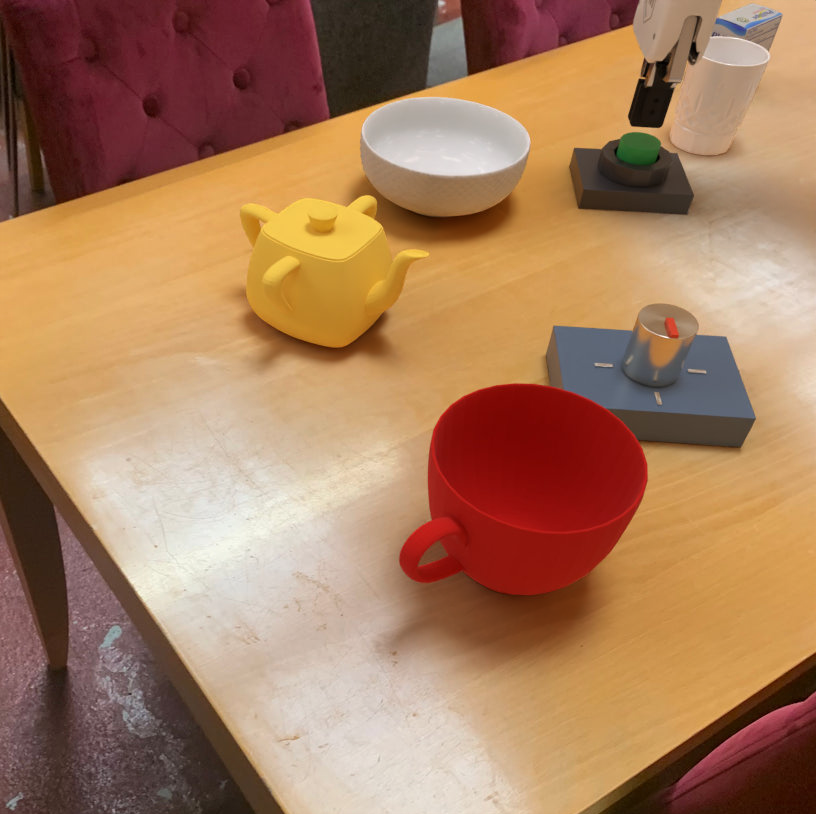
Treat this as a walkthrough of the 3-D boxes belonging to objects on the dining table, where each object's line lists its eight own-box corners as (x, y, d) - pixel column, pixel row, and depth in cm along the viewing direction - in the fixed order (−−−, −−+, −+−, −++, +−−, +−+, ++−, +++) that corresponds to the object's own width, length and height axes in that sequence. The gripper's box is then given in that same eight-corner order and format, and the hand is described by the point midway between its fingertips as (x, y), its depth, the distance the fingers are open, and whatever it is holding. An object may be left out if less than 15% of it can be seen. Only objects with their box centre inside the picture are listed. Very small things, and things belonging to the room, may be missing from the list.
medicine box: (725, 75, 114) (751, 1, 108) (756, 86, 112) (785, 12, 106) (689, 91, 111) (714, 16, 104) (721, 104, 109) (748, 27, 102)
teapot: (387, 270, 84) (396, 166, 76) (416, 355, 75) (431, 247, 68) (242, 280, 83) (237, 175, 75) (255, 368, 74) (251, 259, 66)
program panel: (713, 365, 75) (727, 334, 73) (741, 447, 68) (757, 417, 66) (545, 354, 76) (553, 323, 73) (557, 434, 69) (566, 403, 67)
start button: (652, 149, 93) (657, 132, 92) (659, 168, 90) (664, 151, 89) (613, 147, 93) (618, 130, 92) (619, 165, 91) (623, 149, 89)
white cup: (740, 161, 99) (777, 68, 91) (667, 155, 100) (698, 62, 92) (729, 129, 104) (763, 39, 97) (660, 124, 105) (688, 33, 97)
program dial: (617, 349, 71) (634, 298, 68) (672, 353, 71) (693, 301, 68) (626, 385, 68) (644, 333, 65) (684, 388, 68) (706, 337, 65)
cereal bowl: (465, 262, 85) (476, 193, 80) (324, 206, 92) (327, 138, 86) (546, 191, 94) (561, 125, 89) (413, 144, 101) (420, 80, 95)
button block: (671, 172, 97) (683, 136, 94) (687, 215, 91) (700, 178, 88) (569, 166, 98) (577, 130, 95) (578, 209, 92) (588, 172, 89)
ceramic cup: (330, 568, 60) (335, 464, 53) (506, 462, 67) (533, 356, 60) (464, 705, 53) (493, 607, 46) (645, 571, 60) (695, 467, 53)
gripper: (650, -117, 81) (596, 89, 94) (682, -65, 71) (616, 157, 84) (734, -113, 80) (668, 93, 94) (778, -61, 70) (697, 162, 84)
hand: (644, 123), depth 89 cm, fingers closed
